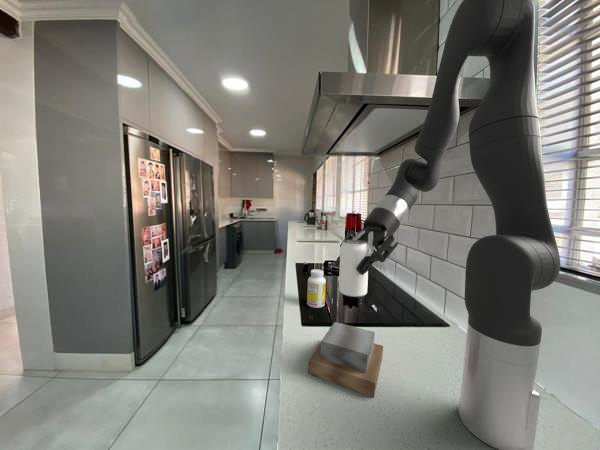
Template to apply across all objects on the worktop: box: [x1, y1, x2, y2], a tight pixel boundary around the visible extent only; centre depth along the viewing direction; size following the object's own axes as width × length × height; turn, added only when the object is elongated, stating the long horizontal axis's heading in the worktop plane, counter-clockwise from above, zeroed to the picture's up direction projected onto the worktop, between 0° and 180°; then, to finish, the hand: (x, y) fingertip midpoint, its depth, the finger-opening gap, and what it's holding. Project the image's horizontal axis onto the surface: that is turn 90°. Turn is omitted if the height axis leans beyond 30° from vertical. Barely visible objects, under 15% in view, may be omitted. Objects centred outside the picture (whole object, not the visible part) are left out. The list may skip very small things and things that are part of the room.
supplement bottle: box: [306, 268, 327, 309], centre depth 89 cm, size 7×7×13 cm
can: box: [338, 239, 369, 298], centre depth 56 cm, size 6×6×12 cm
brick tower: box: [307, 321, 384, 398], centre depth 56 cm, size 14×14×7 cm
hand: (348, 268), depth 55 cm, fingers closed on can, 6 cm apart
